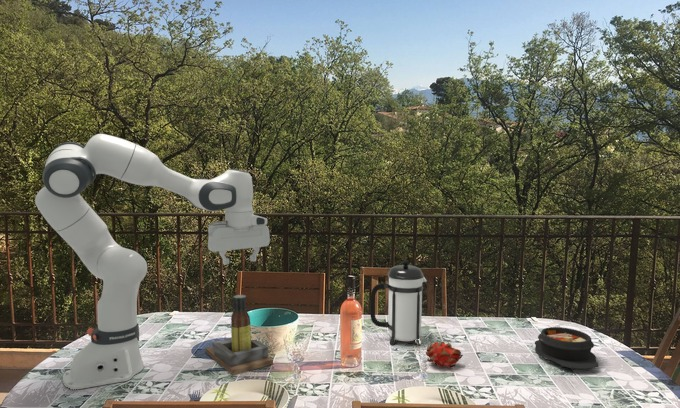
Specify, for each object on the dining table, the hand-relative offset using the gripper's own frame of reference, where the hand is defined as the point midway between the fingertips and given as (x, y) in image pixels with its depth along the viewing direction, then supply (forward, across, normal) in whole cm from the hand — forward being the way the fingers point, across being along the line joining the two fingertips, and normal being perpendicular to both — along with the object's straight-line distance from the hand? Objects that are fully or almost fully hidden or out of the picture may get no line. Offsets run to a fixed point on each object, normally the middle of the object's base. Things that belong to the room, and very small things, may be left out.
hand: (239, 262), depth 157 cm
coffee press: (+33, +55, -18) cm, 66 cm away
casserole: (+33, +88, -62) cm, 112 cm away
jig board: (+32, 0, +2) cm, 33 cm away
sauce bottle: (+31, 0, 0) cm, 31 cm away
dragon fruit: (+33, +51, -42) cm, 74 cm away
